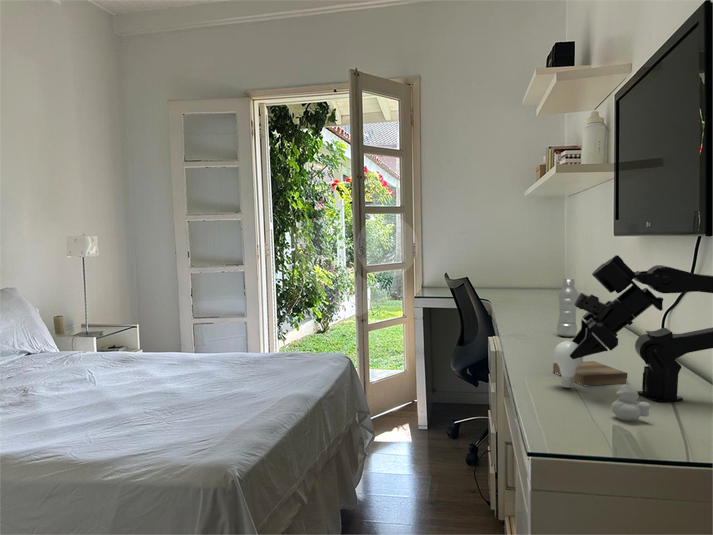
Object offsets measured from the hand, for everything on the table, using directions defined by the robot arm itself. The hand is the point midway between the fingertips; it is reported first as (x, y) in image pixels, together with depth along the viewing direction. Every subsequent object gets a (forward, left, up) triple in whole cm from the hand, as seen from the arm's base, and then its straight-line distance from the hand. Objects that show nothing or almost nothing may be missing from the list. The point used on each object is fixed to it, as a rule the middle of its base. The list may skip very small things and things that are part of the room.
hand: (569, 353), depth 122 cm
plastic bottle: (+56, -39, -8) cm, 69 cm away
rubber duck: (-21, +1, -8) cm, 23 cm away
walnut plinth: (+7, -11, -8) cm, 15 cm away
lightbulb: (0, 0, -8) cm, 8 cm away
